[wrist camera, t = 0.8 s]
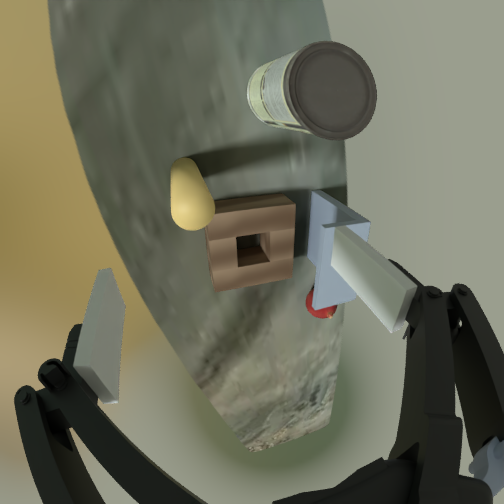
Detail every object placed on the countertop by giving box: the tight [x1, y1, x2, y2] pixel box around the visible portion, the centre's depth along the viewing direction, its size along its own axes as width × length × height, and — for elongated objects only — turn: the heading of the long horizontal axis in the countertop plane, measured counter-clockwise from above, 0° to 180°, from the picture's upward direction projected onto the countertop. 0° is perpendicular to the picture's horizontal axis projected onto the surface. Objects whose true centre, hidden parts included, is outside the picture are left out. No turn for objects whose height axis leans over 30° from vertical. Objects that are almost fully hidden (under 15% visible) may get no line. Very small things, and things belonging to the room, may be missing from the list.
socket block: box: [204, 193, 296, 292], centre depth 40 cm, size 12×12×5 cm
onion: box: [306, 289, 337, 318], centre depth 49 cm, size 6×6×8 cm
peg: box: [171, 157, 215, 230], centre depth 29 cm, size 4×4×16 cm
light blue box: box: [307, 190, 371, 310], centre depth 39 cm, size 12×7×13 cm, turn 2°
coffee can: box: [247, 41, 377, 140], centre depth 28 cm, size 10×10×14 cm
